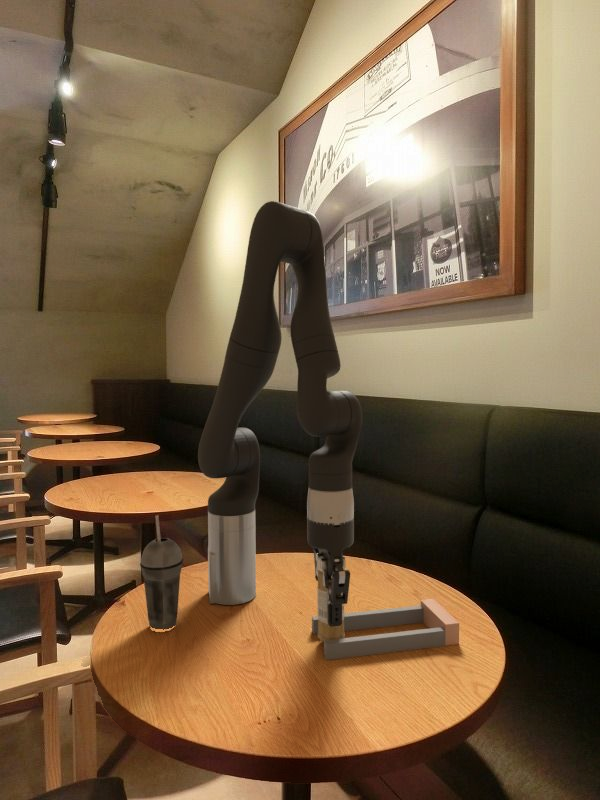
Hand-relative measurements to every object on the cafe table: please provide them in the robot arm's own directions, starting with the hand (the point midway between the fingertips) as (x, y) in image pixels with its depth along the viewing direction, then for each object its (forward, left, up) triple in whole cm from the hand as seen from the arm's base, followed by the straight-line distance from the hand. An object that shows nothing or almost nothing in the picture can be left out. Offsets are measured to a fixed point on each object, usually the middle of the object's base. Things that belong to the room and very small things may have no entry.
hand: (330, 617), depth 87 cm
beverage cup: (-27, +12, -5) cm, 30 cm away
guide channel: (+9, 0, -4) cm, 10 cm away
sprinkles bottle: (0, 0, -4) cm, 4 cm away
